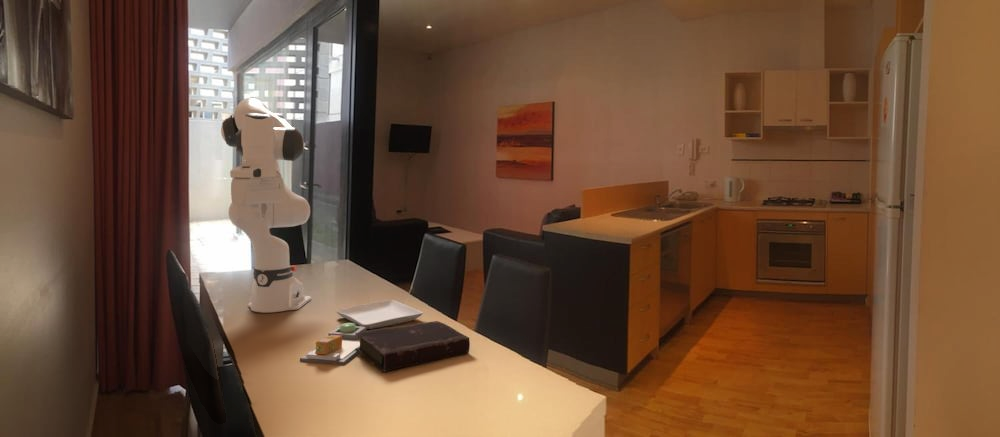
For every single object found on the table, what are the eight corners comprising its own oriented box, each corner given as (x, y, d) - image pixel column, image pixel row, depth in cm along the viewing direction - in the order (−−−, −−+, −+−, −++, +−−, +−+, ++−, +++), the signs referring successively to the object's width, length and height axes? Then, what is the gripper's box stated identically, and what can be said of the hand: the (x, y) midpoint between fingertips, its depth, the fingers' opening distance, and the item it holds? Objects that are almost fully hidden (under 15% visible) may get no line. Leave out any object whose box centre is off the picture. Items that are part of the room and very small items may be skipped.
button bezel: (341, 331, 164) (341, 325, 164) (366, 333, 163) (366, 326, 163) (328, 339, 156) (328, 333, 156) (354, 341, 155) (354, 335, 155)
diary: (470, 355, 146) (470, 337, 146) (384, 374, 131) (384, 354, 131) (434, 334, 161) (435, 318, 160) (353, 349, 146) (353, 331, 145)
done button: (344, 332, 162) (344, 322, 162) (358, 333, 161) (358, 323, 161) (337, 336, 158) (337, 326, 157) (351, 337, 157) (351, 327, 157)
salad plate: (364, 335, 162) (364, 323, 162) (334, 319, 178) (334, 308, 178) (424, 322, 176) (424, 311, 176) (391, 308, 192) (391, 298, 192)
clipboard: (330, 341, 155) (329, 334, 155) (369, 344, 153) (369, 337, 153) (299, 361, 139) (299, 353, 139) (343, 365, 137) (343, 357, 137)
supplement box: (343, 347, 148) (326, 355, 138) (330, 346, 148) (313, 354, 138) (343, 335, 148) (327, 342, 138) (331, 333, 148) (314, 341, 138)
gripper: (270, 170, 165) (272, 215, 167) (225, 171, 145) (227, 222, 147) (290, 170, 164) (291, 216, 165) (247, 171, 144) (248, 223, 145)
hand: (260, 219), depth 156 cm, fingers closed
